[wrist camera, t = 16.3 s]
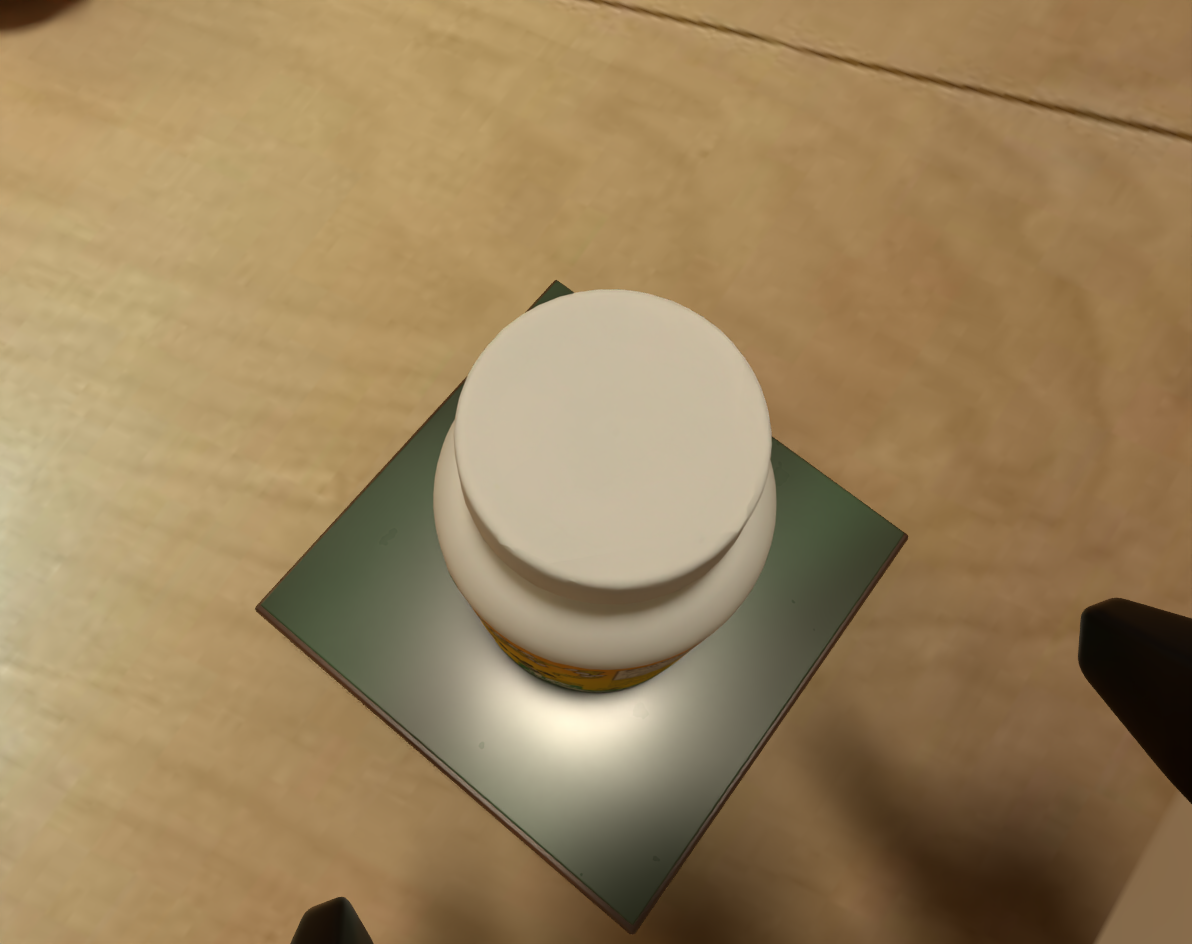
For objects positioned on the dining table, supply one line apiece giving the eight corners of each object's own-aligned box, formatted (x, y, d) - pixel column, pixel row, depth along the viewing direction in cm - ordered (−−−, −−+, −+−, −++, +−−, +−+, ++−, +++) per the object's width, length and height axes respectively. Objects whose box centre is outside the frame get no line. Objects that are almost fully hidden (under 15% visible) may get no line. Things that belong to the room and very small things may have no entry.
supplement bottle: (753, 617, 20) (919, 512, 10) (547, 740, 19) (532, 744, 10) (631, 423, 21) (686, 179, 12) (433, 530, 20) (323, 354, 11)
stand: (873, 557, 23) (917, 532, 20) (625, 913, 20) (634, 941, 18) (556, 323, 25) (555, 269, 22) (287, 622, 22) (246, 606, 19)
